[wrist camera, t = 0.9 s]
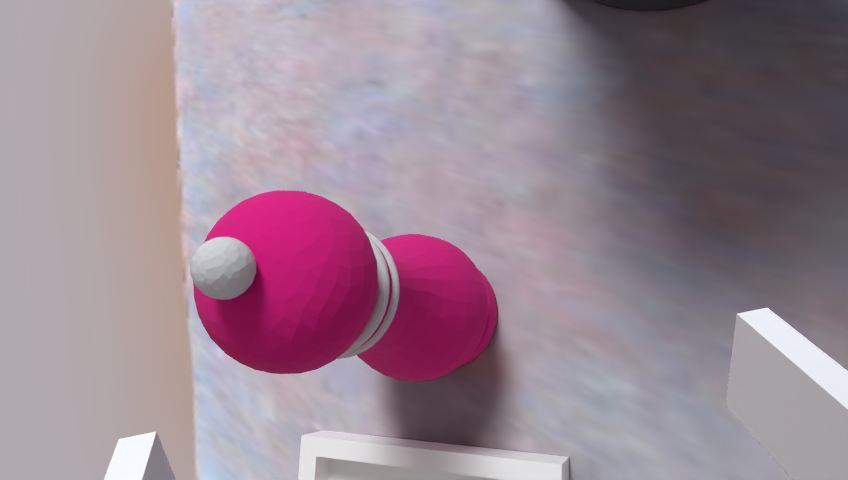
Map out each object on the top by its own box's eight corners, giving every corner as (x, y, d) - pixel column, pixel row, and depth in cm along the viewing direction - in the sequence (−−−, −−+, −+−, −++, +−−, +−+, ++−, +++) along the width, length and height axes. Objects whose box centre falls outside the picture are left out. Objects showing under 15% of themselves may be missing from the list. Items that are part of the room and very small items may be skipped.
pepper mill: (409, 234, 37) (154, 110, 19) (525, 271, 34) (359, 170, 16) (368, 351, 37) (67, 344, 18) (481, 399, 34) (260, 448, 15)
